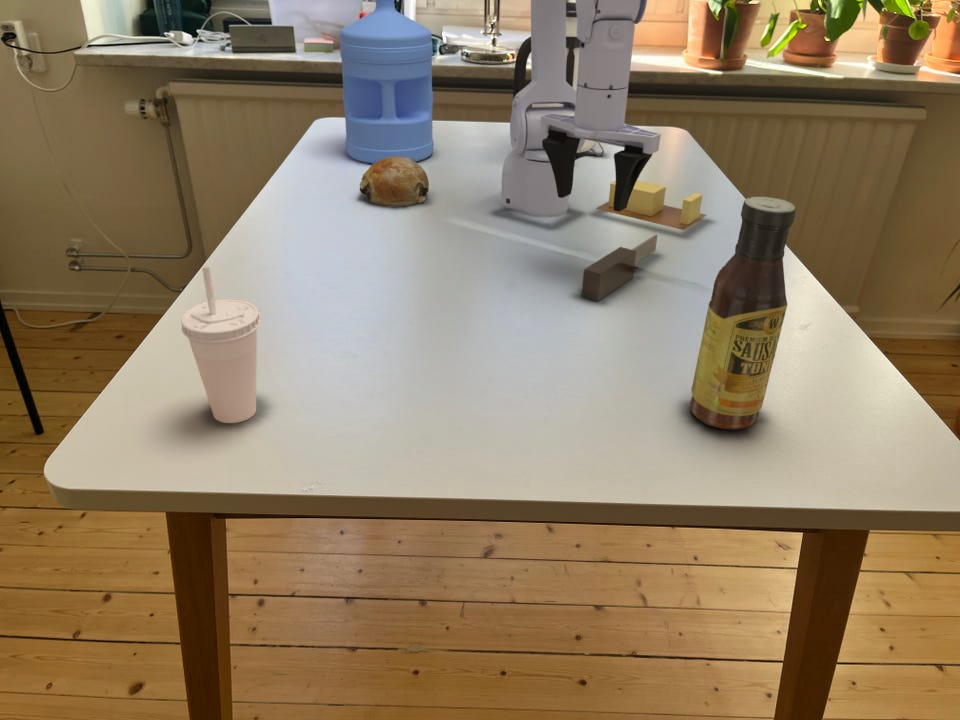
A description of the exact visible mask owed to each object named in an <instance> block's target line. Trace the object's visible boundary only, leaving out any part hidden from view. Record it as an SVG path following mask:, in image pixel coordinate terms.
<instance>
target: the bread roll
mask: <svg viewBox="0 0 960 720" xmlns="http://www.w3.org/2000/svg"><path fill="white" fill-rule="evenodd" d="M429 185H430V184H429V178H428V175H427V173H426V171H425V170H424V168H423V167H422V166H421V165H420V164H419V163H417V161H416V162H413V161H412V160H411V159H410V158H402V157H395V156H394V157H388V158H385V159H382V160H380V161H378V162H376V163H374V164H373V163H372V165H371V166H369V167H368V169H367V170H366V171H365V172H364V173H363V174H362V177H361V180H360V182H359V192H360V194H362V195H364V198H365V200H367V201H368V202H370V203H372V204H375V205H379V206H383V207H390V206H395V207H396V206H397V207H405V206H406V207H407V206H414V205H416V204H422V203H423V202H425V201H426V199H427V198H426V197H427V195H428V192H429Z"/></svg>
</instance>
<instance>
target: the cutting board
mask: <svg viewBox="0 0 960 720" xmlns="http://www.w3.org/2000/svg"><path fill="white" fill-rule="evenodd" d="M608 204H609V201H607V202H605V203H604V204H602V205H600V206H598V207H595V209H596V210H600V211H603V212H608V213H612V214H616V215H620V216H624V217H629V218H632V219H635V220H636V219H637V220H639V221H640V220H641V221H645V222H649V223H653V224H657V225H661V226H665V227H670V228H674V229H677V230H681V231H684V230H686V229H688V228H689V227H691V226H692V225H694V224H696V223H697V222H698V221H700V220H702V219H704V217H706V216H707V214H705V213H701V212H700V214H699V218H698V219H696V220H694V221H693V222H691V223H690V224H688V225H685V224H681V223H680V220H681V213H682V208H678V207H674V206H668V205H666V204H663V210H661V211H659V212H658V213H656V214H654V215H652V216H647V215H643V214H639V213H635V212H630V211H626V210H622V211H620V212H618V211H614V207H609V206H608Z"/></svg>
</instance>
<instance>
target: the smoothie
mask: <svg viewBox="0 0 960 720" xmlns="http://www.w3.org/2000/svg"><path fill="white" fill-rule="evenodd" d="M202 275H203V281H204V288H205V293H206V300H207V301H205V302H202V303H198V304H196V305H194V306H192V307H190V308H188V309H187V310H186V311H185V312H184V313H183V314H182V316H181V317H180V323H181V331H182V334H183V335H184V336H185V337H186V338H188V341H189V345H190V348H191V351H192V355H193V357H194V360H195V364H196V366H197V369H198V372H199V375H200V379H201V381H202V384H203V388H204V391H205V394H206V397H207V400H208V403H209V407H210V409H211V413H212V415H213V418H214V419H215V420H216V421H218V422H220V423H223V424H237V423H242V422H245V421H248V420H249V419H251V418H252V417H253V416H254V415H255V414H256V412H257V364H258V363H257V362H258V361H257V359H258V357H257V351H258V348H257V347H258V345H257V344H258V329H259V327H260V325H261V322H262V321H261V317H260V312H259V309H258V307H257V306H256V305H255V304H253V303H251V302H248V301H245V300H241V299H231V298H230V299H229V298H225V299H215V295H214V288H213V287H214V286H213V282H212V275H211V268H210V266H209V265H203V266H202Z"/></svg>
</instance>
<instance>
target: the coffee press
mask: <svg viewBox="0 0 960 720" xmlns="http://www.w3.org/2000/svg"><path fill="white" fill-rule="evenodd" d="M579 51H580V40H579V39H578V38H577V12H576V0H566V82H567V83H568V84H569V85H570V86H571V87H573V88H574V89H575V90H576V89H577V77H578V64H579ZM530 55H531V36H529V37H528V38H526V39H525V40H524V41H523V42H521V45H520V46H519V48H518V51H517V54H516V57H515V63H514V72H513V95H512V100H513V99H514V97H515V96H516V95H517V94H518V93H519V92H520V91H521V90H522V89H524V88H525V87H526V79H527V78H526V76H527V65H528V64H527V63H528V59H529V58H530ZM531 107H566V106H565V105H563V104H559V103H554V104H531ZM596 143H598V146H599V147H600V148H601V152H599V153H597V152H596V150H595V149H594V147H595V145H596ZM601 144H602V143H600V142H595V141H590V140H585V143H584V145H583V146H582V148H581V149H580V150H579V151H578V152H577V154H580V153H584V152H588V151H589V150H590V151H591V152H593V153H594V155H595V156H597V157H601V156H603V155H604V148H603V146H602V145H601Z"/></svg>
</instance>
